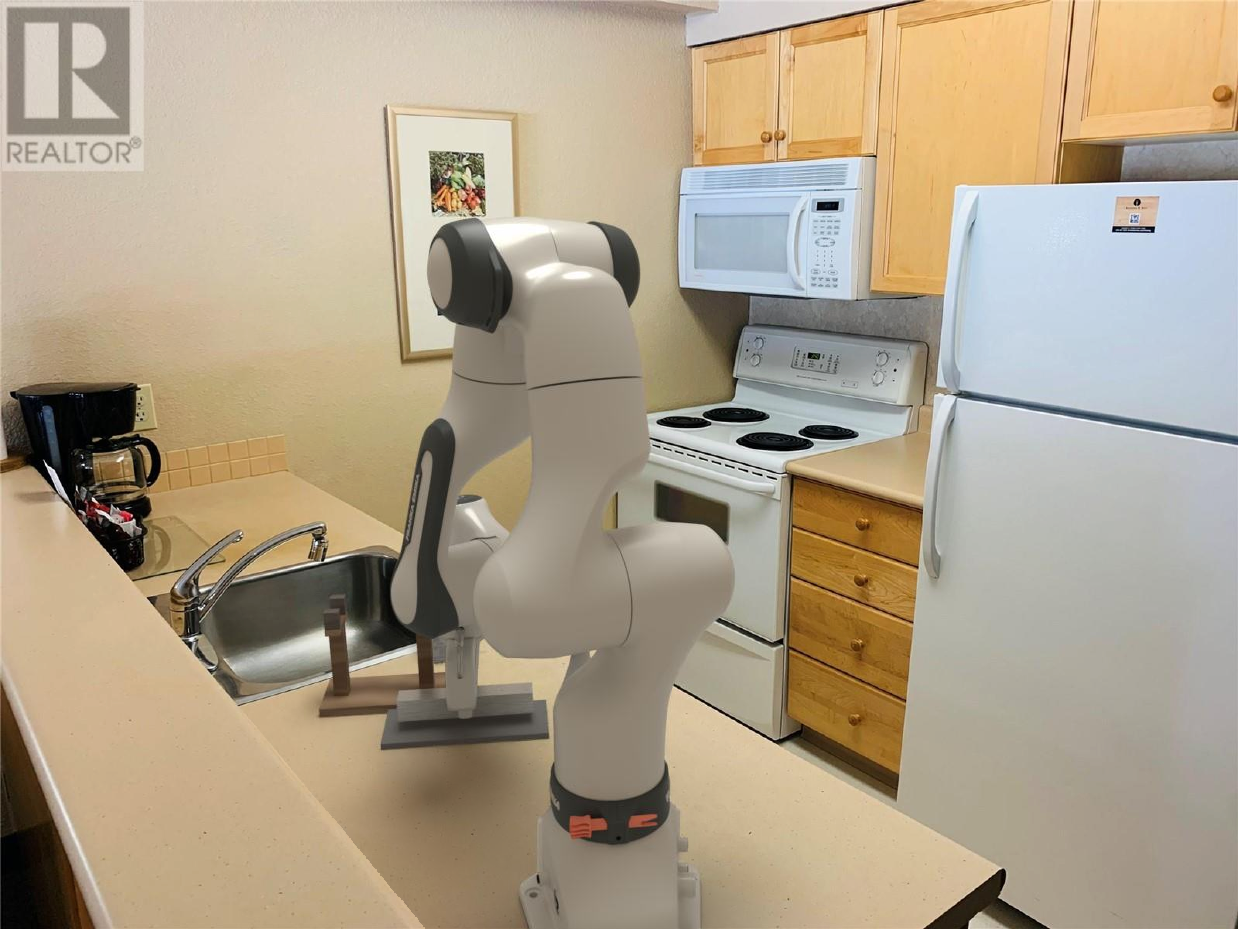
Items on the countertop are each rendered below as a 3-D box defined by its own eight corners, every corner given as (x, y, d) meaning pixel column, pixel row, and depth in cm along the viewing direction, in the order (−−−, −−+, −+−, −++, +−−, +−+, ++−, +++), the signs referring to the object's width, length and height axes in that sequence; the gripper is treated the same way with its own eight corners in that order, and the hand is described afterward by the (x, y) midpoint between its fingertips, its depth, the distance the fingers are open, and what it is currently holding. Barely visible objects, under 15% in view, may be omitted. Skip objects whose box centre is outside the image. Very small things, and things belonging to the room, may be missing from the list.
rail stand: (443, 709, 135) (437, 611, 131) (319, 717, 133) (309, 617, 129) (446, 679, 144) (441, 586, 140) (330, 686, 142) (322, 592, 138)
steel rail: (533, 712, 130) (532, 692, 129) (398, 721, 128) (396, 701, 127) (532, 702, 132) (532, 682, 132) (400, 710, 130) (398, 690, 130)
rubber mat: (549, 738, 128) (548, 732, 127) (380, 749, 125) (380, 744, 125) (546, 704, 136) (546, 699, 136) (388, 714, 134) (388, 709, 134)
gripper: (483, 646, 117) (488, 747, 120) (486, 583, 136) (490, 671, 140) (431, 649, 116) (437, 750, 119) (441, 585, 136) (447, 674, 139)
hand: (466, 707), depth 130 cm, fingers closed on steel rail, 3 cm apart
